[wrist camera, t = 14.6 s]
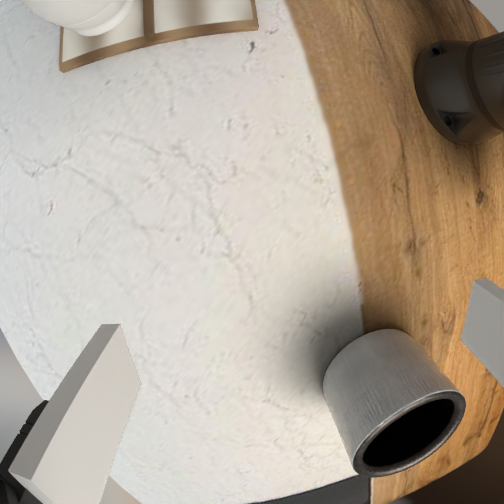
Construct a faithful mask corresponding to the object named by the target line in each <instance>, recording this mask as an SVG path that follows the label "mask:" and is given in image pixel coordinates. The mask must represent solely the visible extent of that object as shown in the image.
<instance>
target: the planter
mask: <svg viewBox="0 0 504 504" xmlns="http://www.w3.org/2000/svg"><path fill="white" fill-rule="evenodd" d="M323 391H324V396H325V399H326V402H327V404H328V407H329V409H330V412H331V414H332V417H333V419H334V421H335V424H336V426H337V429H338V431H339V433H340V436H341V438H342V441H343V443H344V446H345V448H346V451H347V453H348V456H349V459H350V461H351V464H352V466H353V469H354V470H355V472H357V473H358V474H360V475H362V476H365V477H383V476H388V475H392V474H395V473H398V472H401V471H404V470H406V469H408V468H410V467H412V466H414V465H416V464H418V463H420V462H421V461H423V460H424V459H426V458H427V457H429V456H430V455H432V454H433V453H434V452H435V451H437V450H438V449H439V448H440V447H441V446H442V445H443V444H444V443H445V442H446V441H447V440H448V439H449V438H450V437H451V435H452V434H453V433H454V432H455V430H456V429H457V427H458V426H459V424H460V422H461V420H462V418H463V416H464V413H465V408H466V401H465V398H464V396H463V395H462V394H461V392H460V391H459V390H458V389H457V388H456V387H455V385H454V384H453V383H452V382H451V381H450V380H449V378H448V377H447V376H446V375H445V374H444V373H443V372H442V370H441V369H440V368H439V367H438V366H437V365H436V363H435V362H434V361H433V360H432V359H431V358H430V356H429V355H428V354H427V353H426V352H425V351H424V350H423V349H422V347H421V346H420V345H419V344H418V343H417V342H416V341H415V340H414V339H413V338H412V337H411V336H410V335H408V334H407V333H405V332H403V331H400V330H397V329H381V330H377V331H373V332H370V333H367V334H365V335H363V336H361V337H359V338H357V339H356V340H354V341H353V342H351V343H350V344H348V345H347V346H346V347H345V348H343V349H342V350H341V351H340V352H339V353H338V354H337V356H336V357H335V358H334V359H333V361H332V362H331V364H330V365H329V367H328V369H327V371H326V373H325V376H324V380H323Z"/></svg>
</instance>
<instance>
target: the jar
mask: <svg viewBox="0 0 504 504" xmlns="http://www.w3.org/2000/svg"><path fill="white" fill-rule="evenodd" d="M21 2H22V3H23V4H24V5H25V6H26V8H28V9H29V10H30V11H31V12H32V13H33V14H35V15H36V16H38V17H39V18H41V19H43V20H45V21H48V22H50V23H53V24H57V25H60V26H62V27H65V28H68V29H74V30H75V31H76V32H77V33H78V34H80V35H83V36H97V35H100V34H103V33H106V32H108V31H110V30H111V29H113V28H114V27H116V26H117V25H118V24H120V23H121V22H122V21H123V20H124V19H125V18H126V17H127V15H128V14H129V13H130V11H131V9H132V7H133V5H134V2H135V0H21Z"/></svg>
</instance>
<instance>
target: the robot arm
mask: <svg viewBox="0 0 504 504" xmlns="http://www.w3.org/2000/svg"><path fill="white" fill-rule="evenodd" d="M415 86H416V91H417V95H418V98H419V101H420V104H421V106H422V108H423V110H424V112H425V114H426V116H427V118H428V119H429V121H430V122H431V124H432V125H433V126H434V127H435V129H436V130H437V131H438V132H439V133H440V134H441V135H443V136H444V137H445V138H447V139H448V140H450V141H452V142H454V143H457V144H461V145H476V144H481V143H483V142H485V141H487V140H489V139H491V138H493V137H495V136H497V135H499V134H501V133H502V132H504V32H501V33H498V34H495V35H492V36H489V37H486V38H483V39H481V40H478V41H475V42H468V41H455V40H443V41H438V42H436V43H434V44H432V45H429V46H428V47H426V48H425V49H424V50H423V51H422V52H421V53H420V55H419V56H418V59H417V62H416V66H415ZM460 340H461V341H462V342H463V343H464V344H465V345H466V346H467V347H468V348H469V349H470V351H471V352H472V353H473V354H474V355H475V356H476V357H477V358H478V359H479V360H480V361H481V362H482V364H483V365H484V366H485V367H486V368H487V369H488V370H489V371H490V372H491V374H492V375H493V376H494V377H495V378H496V379H497V380H498V381H499V383H500V384H501V385H502V386H503V387H504V290H503V289H502V288H500V287H499V286H497V285H496V284H494V283H493V282H491V281H490V280H488V279H487V278H483V279H479V280H474V281H473V285H472V290H471V296H470V301H469V305H468V310H467V315H466V319H465V323H464V327H463V331H462V335H461V339H460ZM141 385H142V382H141V380H140V377H139V375H138V372H137V370H136V367H135V364H134V362H133V359H132V356H131V354H130V351H129V348H128V345H127V342H126V339H125V337H124V334H123V331H122V328H121V324H102V325H101V326H100V328H99V329H98V330H97V332H96V333H95V335H94V336H93V337H92V339H91V340H90V342H89V343H88V344H87V346H86V347H85V349H84V350H83V351H82V353H81V354H80V356H79V357H78V359H77V360H76V361H75V363H74V364H73V366H72V367H71V369H70V370H69V372H68V373H67V375H66V376H65V378H64V379H63V381H62V382H61V384H60V385H59V387H58V388H57V390H56V391H55V393H54V394H53V396H52V397H51V399H50V400H49V401H47V400H44V401H43V402H42V403H41V404H40V405H39V406H37V407H36V408H35V409H34V410H33V411H32V412H31V414H30V415H29V417H28V419H27V420H26V424H24V425H23V427H22V428H21V430H20V434H18V435H17V436H16V438H15V439H14V441H13V443H12V444H11V446H10V448H9V450H8V451H7V453H6V455H5V457H4V458H3V460H2V462H1V463H0V504H100V501H101V498H102V494H103V491H104V488H105V485H106V482H107V479H108V476H109V473H110V470H111V467H112V464H113V461H114V458H115V455H116V453H117V450H118V447H119V444H120V441H121V438H122V436H123V433H124V430H125V427H126V425H127V422H128V419H129V416H130V414H131V411H132V408H133V406H134V403H135V401H136V398H137V395H138V393H139V390H140V388H141Z"/></svg>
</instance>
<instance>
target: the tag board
mask: <svg viewBox="0 0 504 504" xmlns="http://www.w3.org/2000/svg"><path fill="white" fill-rule="evenodd" d="M258 27H259V25H258V18H257V12H256V6H255V0H135V2H134V5H133V7H132V9H131V11H130V13H129V14H128V15H127V17H126V18H125V19H124V20H123V21H122V22H121V23H120V24H118V25H117V26H116V27H114V28H113V29H111V30H110V31H108V32H106V33H103V34H100V35H97V36H83V35H80V34H78V33H77V32H76V31H75V30H74V29H68V28H65V27H62V26H61V40H60V71H62V72H67V71H70V70H72V69H75V68H78V67H80V66H83V65H86V64H89V63H92V62H95V61H98V60H101V59H104V58H107V57H110V56H114V55H117V54H121V53H124V52H128V51H132V50H135V49H139V48H143V47H148V46H152V45H156V44H161V43H166V42H171V41H176V40H181V39H187V38H193V37H199V36H206V35H214V34H222V33H231V32H242V31H256V30H258Z"/></svg>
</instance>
